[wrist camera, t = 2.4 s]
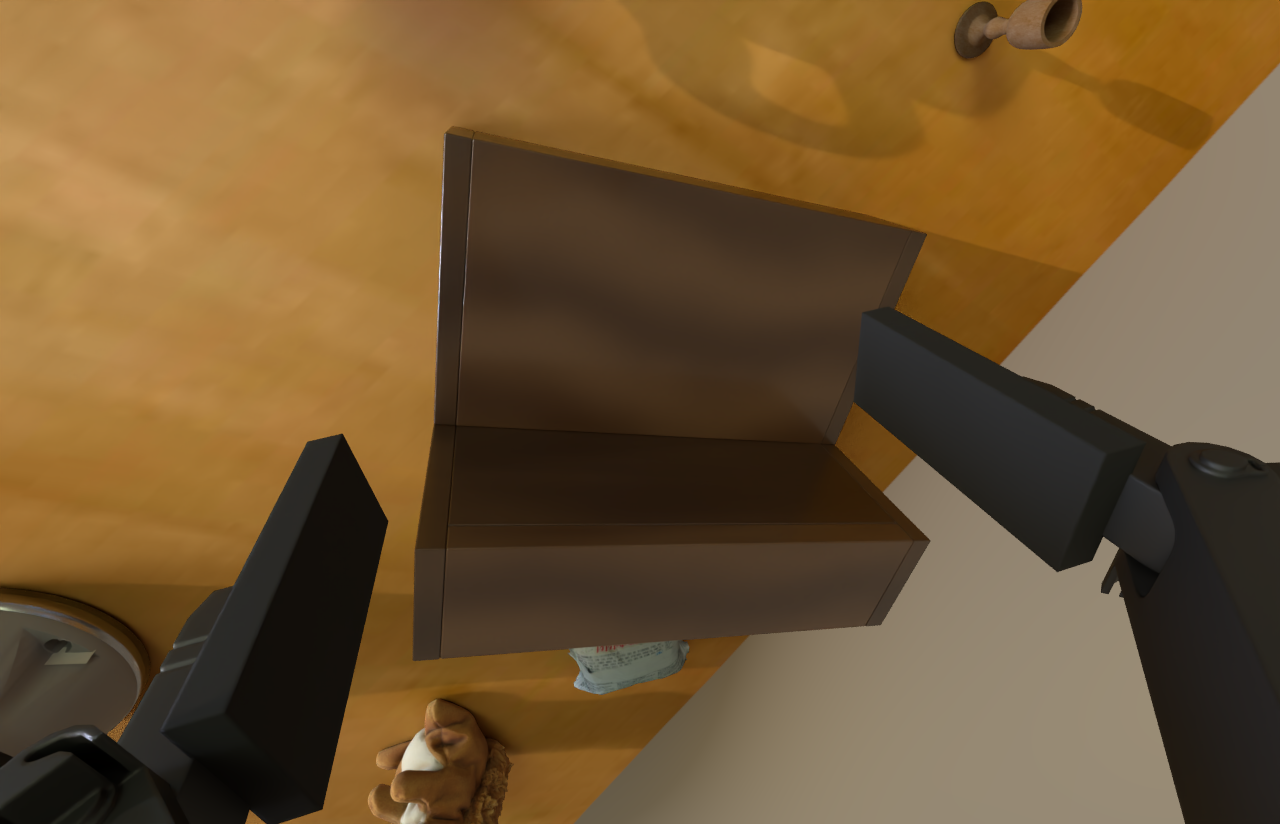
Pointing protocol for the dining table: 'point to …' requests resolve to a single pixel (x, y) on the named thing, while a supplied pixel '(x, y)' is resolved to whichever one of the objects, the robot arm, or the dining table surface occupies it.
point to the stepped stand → (647, 409)
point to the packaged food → (627, 664)
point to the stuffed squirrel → (443, 773)
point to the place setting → (1018, 26)
